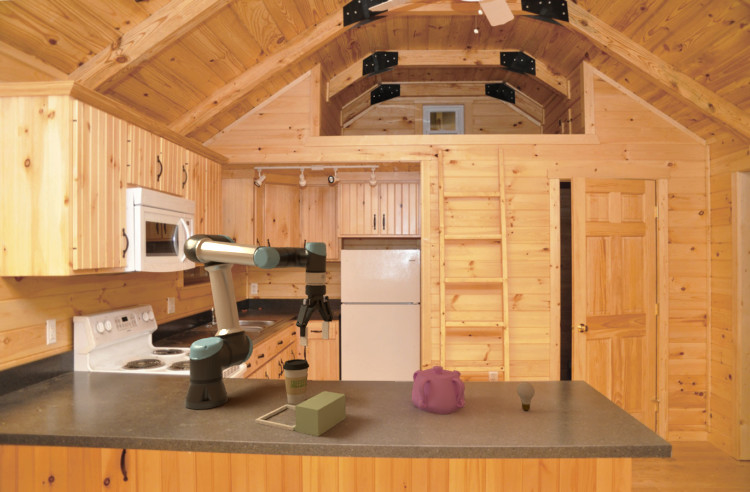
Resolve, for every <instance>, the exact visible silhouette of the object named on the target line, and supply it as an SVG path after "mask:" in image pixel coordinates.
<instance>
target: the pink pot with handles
mask: <svg viewBox="0 0 750 492" xmlns="http://www.w3.org/2000/svg"><path fill="white" fill-rule="evenodd" d="M461 375H462V374H461V372H460V371H458V370H456V369H454V370H453V371H452V370H447V369H444V367H443V366H441V365H434V366H432V367H431V368H426V369H424V370H421V369H418V370H416V371H415V372H414V373H413V374H412V380H413V385H412V389H411V390H412V391H411V402H412V403H413V405H414V407H415V408H416V409H417V408H418V409H419V410H421V411H424V412H427V413H432V414H437V415H450V414H452V413H455V412H457V411H458V410H460V409H463V408H464V407H465V406H466V401H465V396H466V395H465V390H466V389H465V388H466V385H465V383H464V382H463V380H462V379H461V378H460V377H461Z"/></svg>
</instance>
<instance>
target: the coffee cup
mask: <svg viewBox="0 0 750 492" xmlns="http://www.w3.org/2000/svg"><path fill="white" fill-rule="evenodd" d="M309 368H310V363H308V360H307V359H301V358H296V359H288V360H285V361H284V363H283V365H282V369H283V372H284V375H283V376H284V383H285V384H284V385H285V391H286V397H287V404H288V405H293V406H296V405H298V404H300V403H302V402H304V401H306V392H307V386H308V375H309V373H308V372H309V371H308V370H309Z"/></svg>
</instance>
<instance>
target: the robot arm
mask: <svg viewBox="0 0 750 492" xmlns="http://www.w3.org/2000/svg"><path fill="white" fill-rule="evenodd" d="M182 251H183V254H184V256H185V257H186V258H187V260H189V261H190V262H191V263H194V264H203V268H204V270H205V271H207V273H208V274H209V281H210V287H211V294H212V299H213V307H214V313H215V320H216V326H217V327H216V328H217V331H216V333H215V334H214V336H210V337H207V338H205V337H204V338H201V339H198V340H196V341H194V342H192V343H191V345H190V348H189V354H188V357H189V385H188V389H187V392H186V396H185V397H184V406H185V408H188V409H191V410H205V409H206V410H207V409H213V408H217V407H219V406H220V407H221V406H222V405H225V404H226V403H227V402H228V401H229V399H228V397H229V396H228V392H227V390H226V386H225V384H224V380H223V379H224V378H223V375H224V374H223V373H224V370H227V369H230V368H234V367H235V366H240V365H242V364H244V363H246V362H248V361H249V359H250V358H251V356H252V355H253V351H254V343H253V340H252V338H251V337H250V336H249V335H247V334H246V332H245V329H244V328H242V327H241V325H240V319H239V312H238V311H239V310H238V304H237V300H236V294H235V287H234V286H235V285H234V281H233V280H234V279H233V274H232V268H233V267H234V266H235V265H242V266H250V267H251V266H252V267H258V268H259V269H262V270H263V269H264V270H271V269H285V268H287V269H289V268H305V278H304V280H305V286H304V288H305V290H304V291H305V293H304V294H305V295H306V296H307V298H302V299H301V305H300V309H299V312H298V315H297V318H296V323H295V326H296V327H297V328H299V336H300V338H299V340H300V342H299V345H300V346H303V347H308V346H309V345H308V344H309V327H307V326H308V324H309V322H310V320H311V318H312V315H313V313H314V312H315V311H317V310H318V312H319V315H320V316H321V318H322V321H321V339H323V340H330V322H331V323H332V322H333V318H334V316H333V312H332V309H331V306H330V305H331V304H330V302H329V301H330V299H329V298H330V297H329V296H328V295H326V294H327V285H326V283H327V256H328V254H327V253H328V252H327V244H326V242H321V241H320V242H317V241H314V242H313V241H307V242H306V243H305V247H298V246H297V247H296V246H295V247H293V246H281V247H280V246H265V245H254V244H247V243H237V242H235V241H234V239H233V238H231V236H229V235H224V234H204V233H197V234H196V233H195V234H193V235H191V236H189V237H188V238H187V239H186V240H185V242H184V244H183V249H182Z"/></svg>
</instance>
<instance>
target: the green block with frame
mask: <svg viewBox="0 0 750 492" xmlns="http://www.w3.org/2000/svg"><path fill="white" fill-rule="evenodd" d="M286 409H289V410H293V411H295V413H294V414H295V415H294V417H295V420H294V421H295V423H294V424H293V425H288V424H284V423H279V422H274V421H271V420H267V419H268V418H271V417H272V416H274V415H276V414H278V413H280V412H282V411H284V410H286ZM346 410H347V409H346V394H344V393H340V392H339V393H338V392H332V391H326V390H324V391H322V392H320V393H317V394H316V395H314V396H312V397H310V398H308V399H305V401H304V402H302V403H300V404H296V405H293V404H289V403H287V404H284V405H282V406H279V407H277V408H275V409H274V410H271V411H269V412H268V413H266V414H263V415H261V416H259V417H258V418H255V419H254V423H255V424H260V425H263V426H267V427H273V428H276V429H277V428H279V429H283V430H287V431H291V432H293V431H295V432H296V433H301V434H306V435H308V436H309V435H311V436H314V437H319V436H320V435H321V436H322V435H323V434H324V433H325V432H328V430H330V429H332V428H333V427H335V426H336V425H338V424H339V423H340V422H342V421H343V420H345V419H346V413H347V412H346Z"/></svg>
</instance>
